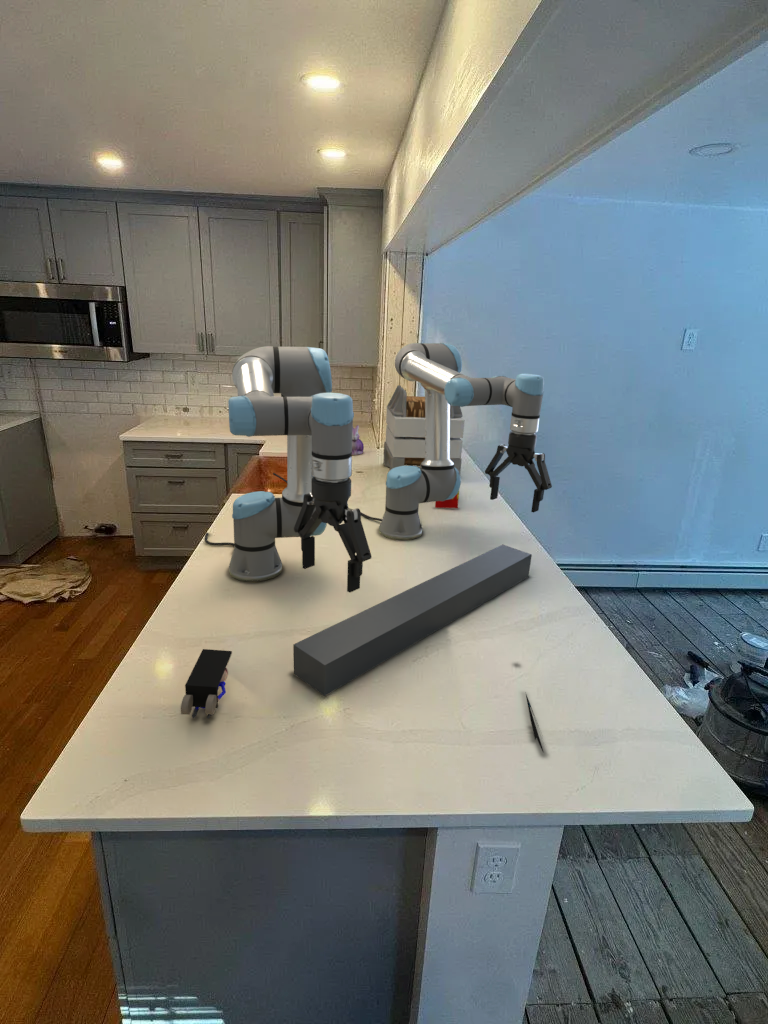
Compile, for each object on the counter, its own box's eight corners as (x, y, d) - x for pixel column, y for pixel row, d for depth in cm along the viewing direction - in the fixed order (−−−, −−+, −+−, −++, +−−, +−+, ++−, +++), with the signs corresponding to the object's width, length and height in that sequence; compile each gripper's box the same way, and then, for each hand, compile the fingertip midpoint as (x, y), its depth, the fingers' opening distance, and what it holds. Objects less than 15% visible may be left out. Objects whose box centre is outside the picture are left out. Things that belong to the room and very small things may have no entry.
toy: (452, 466, 252) (464, 476, 223) (451, 496, 255) (462, 509, 226) (425, 465, 252) (433, 475, 222) (424, 495, 254) (431, 508, 225)
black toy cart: (217, 731, 106) (235, 675, 120) (214, 701, 103) (232, 647, 116) (181, 730, 106) (203, 674, 119) (176, 700, 103) (199, 646, 116)
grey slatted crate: (382, 463, 289) (386, 382, 275) (445, 464, 293) (451, 384, 279) (390, 482, 257) (394, 392, 243) (460, 483, 261) (468, 394, 247)
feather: (517, 669, 129) (522, 662, 128) (543, 757, 102) (550, 750, 102) (511, 665, 129) (516, 659, 128) (535, 752, 102) (542, 745, 101)
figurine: (351, 455, 300) (352, 427, 295) (343, 451, 309) (344, 424, 304) (367, 454, 304) (368, 426, 299) (359, 450, 313) (360, 423, 308)
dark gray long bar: (500, 566, 178) (502, 544, 176) (528, 576, 172) (531, 554, 169) (293, 674, 122) (293, 644, 119) (324, 696, 115) (324, 665, 113)
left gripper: (275, 466, 112) (277, 563, 120) (363, 497, 97) (360, 607, 104) (305, 460, 118) (305, 553, 125) (393, 489, 102) (387, 594, 109)
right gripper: (477, 425, 161) (470, 496, 168) (558, 442, 145) (546, 519, 153) (492, 422, 166) (484, 491, 174) (572, 438, 151) (559, 513, 158)
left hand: (330, 578), depth 114 cm, fingers open, 13 cm apart
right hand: (513, 504), depth 163 cm, fingers open, 13 cm apart
